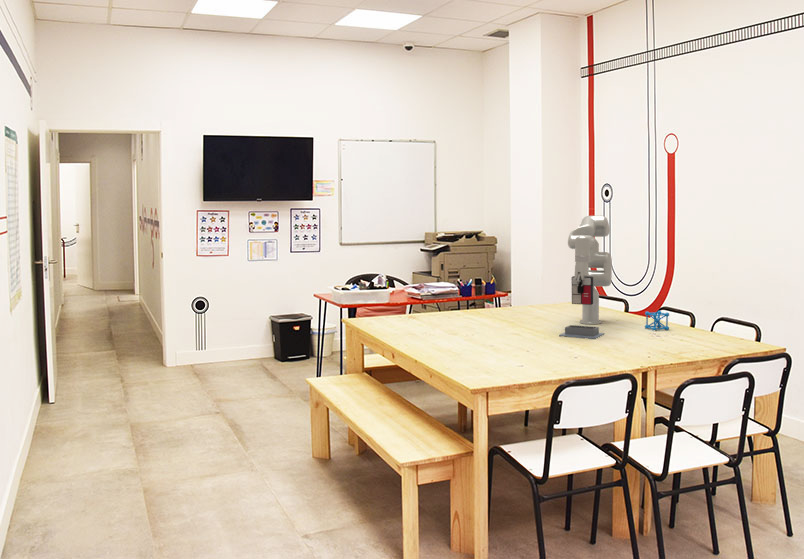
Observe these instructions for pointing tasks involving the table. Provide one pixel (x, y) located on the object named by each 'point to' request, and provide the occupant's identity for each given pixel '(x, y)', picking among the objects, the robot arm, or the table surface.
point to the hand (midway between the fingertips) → (582, 292)
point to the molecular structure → (657, 320)
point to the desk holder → (582, 332)
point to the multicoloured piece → (588, 291)
